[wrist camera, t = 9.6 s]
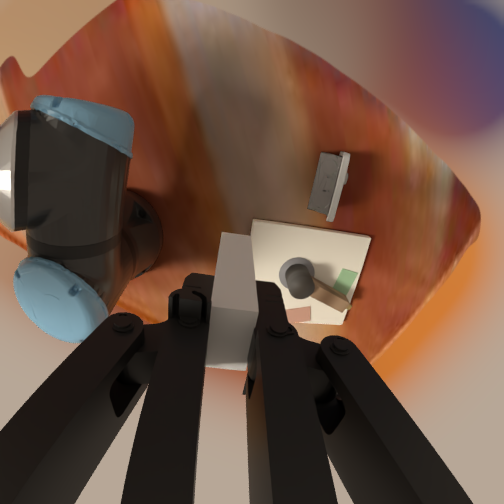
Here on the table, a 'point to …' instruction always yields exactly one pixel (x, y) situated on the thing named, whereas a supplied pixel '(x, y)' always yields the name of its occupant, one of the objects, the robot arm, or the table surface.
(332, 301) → the peg
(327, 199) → the electrical switch
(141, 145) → the table surface
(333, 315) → the tuner plate
